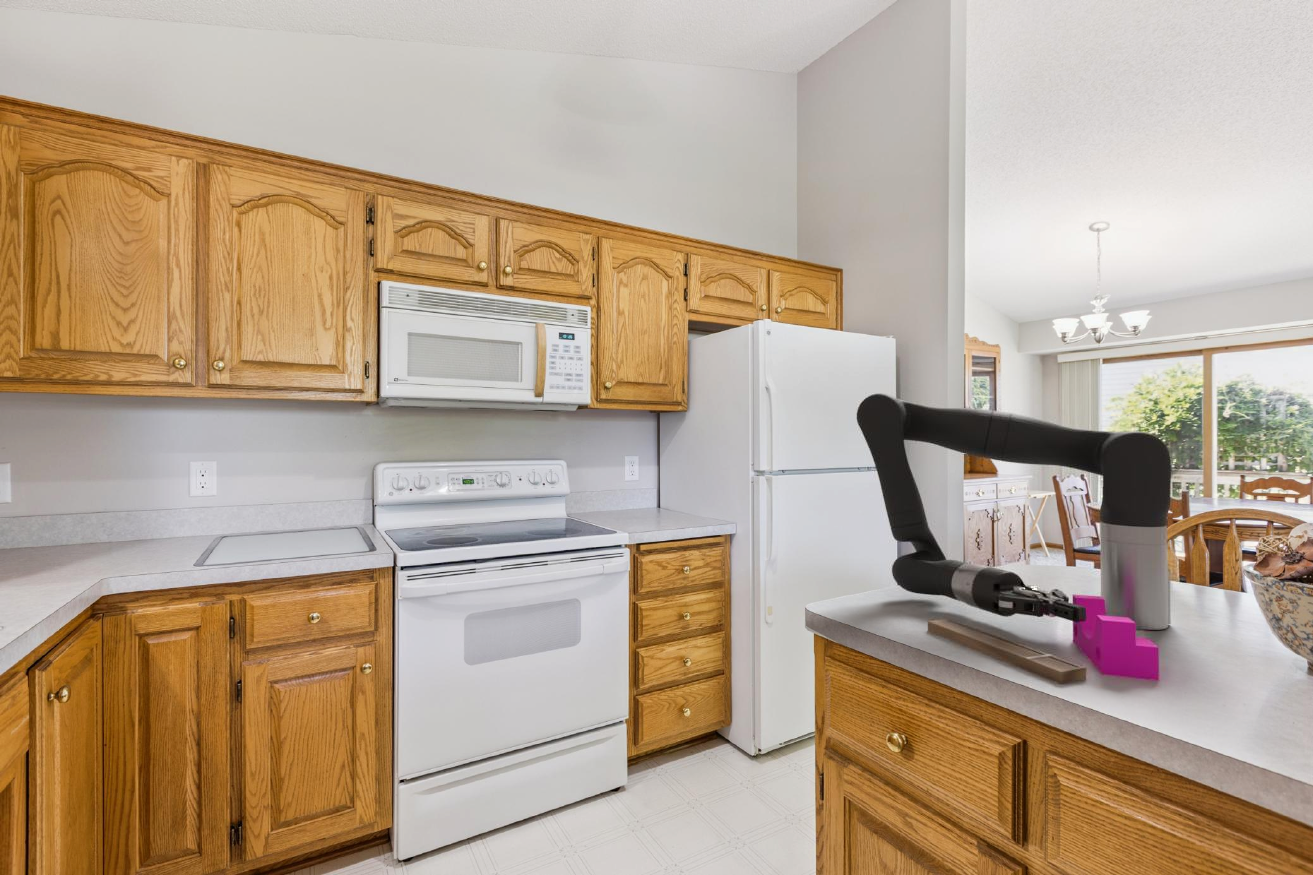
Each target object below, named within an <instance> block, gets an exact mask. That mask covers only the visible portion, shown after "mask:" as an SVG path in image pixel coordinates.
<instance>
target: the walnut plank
mask: <svg viewBox="0 0 1313 875" xmlns="http://www.w3.org/2000/svg"><path fill="white" fill-rule="evenodd" d="M927 631H928V632H930V633H933V634H935V635H938V636H940V637H941V638H942V637H943V638H944V639H947V640H950V641H953V642H955V643H957V644H960V645H963V646H965V647H968V648H970V649H973V650H975V651H977V652H979V653H982V654H985V655H987V656H990V657H991V658H995V659H998V660H1000V661H1002V662H1005V663H1008V664H1010V665H1013V666H1014V667H1018V668H1020V669H1022V670H1025V671H1027V672H1030V673H1032V674H1035V675H1038V676H1040V677H1042V678H1045V679H1047V680H1050V681H1052V682H1055V683H1057V684H1060V685H1063V684H1069V683H1075V682H1081V681H1087V667H1085V666H1083V665H1080V664H1078V663H1074V662H1071V661H1069V660H1066V659H1062V658H1060V657H1058V656H1055V655H1054V654H1051V653H1046V652H1043V651H1040V650H1038V649H1035V648H1032V647H1030V646H1026V645H1025V644H1021V643H1019V642H1016V641H1013V640H1010V639H1007V638H1005V637H1001V636H999V635H996V634H993V633H990V632H988V631H984V630H982V629H979V628H976V627H974V626H972V625H969V624H966V623H962V622H961V621H957V620H954V619H951V618H943V619H936V620H935V619H934V620H928V621H927Z"/></svg>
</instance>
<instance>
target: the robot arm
mask: <svg viewBox="0 0 1313 875" xmlns="http://www.w3.org/2000/svg"><path fill="white" fill-rule="evenodd" d="M856 410H857V412H856V422H857V425H858V427H859V429H860V431H861V433H862V435H863V437H864V440H865V443H866V445H867V446H868V449H869V451H870V455H871V457H872V460H873V462H874V465H875V469H876V471H877V476H878V479H879V483H880V484H879V485H880V489H881V492H882V498H883V502H884V506H885V511H886V514H887V518H888V523H889V528H890V530H891V533H892V537H893V538H894V540H895V541H897V542H901V543H909V542H910V543H911V544H912V546H913V547H914V550H915V551H914V552H910V553H906V554H904V555H901V556H899V557H898V558H896V559H895V560H894V562H893V563H892V566H891V574H892V578H893V580H894V581H895V583H896V584H897V585H898V586H899V587H901V589H903V590H905V591H908V592H910V593H912V594H913V593H914V594H919V595H929V596H942V597H946V598H950V599H953V600H956V601H958V602H961V603H964V604H966V605H968V606H971V607H973V608H976V609H979V610H982V611H986V612H988V613H992V614H995V615H998V616H1001V617H1005V618H1007V617H1012V616H1014V615H1023V616H1030V617H1031V616H1033V617H1037V618H1041V617H1042V618H1043V617H1044V616H1047V617H1049V618H1056V617H1058V618H1061V619H1064V620H1067V621H1072V622H1073V621H1074V622H1082V621H1085V620H1086V609H1085V607H1083V606H1080V605H1076V604H1073V602H1069V600H1070V598H1069V596H1068V595H1066V594H1065V593H1064V592H1063V591H1062V590H1060V589H1057V588H1054V589H1051V590H1050V591H1046V590H1044V589H1040V588H1038V587H1037V586H1036V585H1031V584H1025V583H1024V581H1023V579H1022V578H1021V577H1020V576H1019V575H1018V574H1017V573H1015V572H1012V571H1008V570H1004V569H1000V568H996V567H991V566H987V565H984V564H983V565H982V564H976V563H968V562H966V561H965V562H964V561H961V560H960V561H959V560H955V559H947V558H946V555H945V554H944V552H943V551H942V549H941V547H940V545H939V544H938V541H937V540H936V538H935V535H934V534H933V532H932V531H931V529H930V527H929V523H928V519H927V516H926V512H925V508H924V504H923V500H922V497H921V494H920V491H919V488H918V485H917V482H916V480H915V478H914V475H913V472H912V470H911V466H910V463H909V460H908V456H907V452H906V447H905V441H911V442H913V441H914V442H921V443H928V444H933V445H936V446H940V447H943V448H945V449H949V450H951V451H954V452H955V451H956V452H958V453H962V454H965V455H969V456H974V457H978V458H982V459H983V458H984V459H988V460H994V461H999V462H1000V461H1001V462H1006V463H1013V464H1025V465H1038V466H1039V465H1041V466H1042V465H1043V466H1057V467H1065V468H1071V469H1074V470H1077V471H1078V470H1079V471H1083V472H1086V473H1090V474H1095V475H1098V476H1101V477H1102V498H1101V505H1100V507H1099V508H1100V510H1099V524H1100V525H1099V528H1100V530H1099V532H1100V533H1099V534H1100V538H1099V539H1100V540H1099V541H1100V542H1099V543H1100V548H1099V549H1100V596H1101V597H1102V598H1103V599H1105V608H1106V615H1107V616H1115V617H1127V618H1130V619H1131V620H1132V621H1134V622H1135V623H1136V629H1138V630H1149V631H1150V630H1152V631H1153V630H1164V629H1165V630H1166V629H1167V628H1168V627H1169V625H1171V621H1172V620H1171V617H1172V616H1171V570H1170V568H1168V514H1169V510H1170V506H1171V489H1172V488H1171V484H1172V483H1171V482H1172V464H1171V463H1172V462H1171V453H1170V451H1169V448H1168V447H1167V445H1166V444H1165V442H1164V441H1163V440H1162V439H1161V438H1159V437H1158V436H1156V435H1154V434H1152V433H1149V432H1146V431H1145V432H1144V431H1140V430H1139V431H1138V430H1130V431H1127V430H1126V431H1108V430H1096V429H1094V430H1092V429H1083V428H1082V429H1081V428H1073V427H1069V426H1064V425H1061V424H1057V423H1053V422H1050V421H1046V420H1043V419H1040V418H1035V417H1031V416H1027V415H1024V414H1023V415H1022V414H1017V413H1011V412H1005V411H999V410H992V409H982V408H980V409H979V408H964V407H963V408H962V407H960V408H959V407H956V408H955V407H952V408H951V407H949V408H948V407H934V406H928V405H923V404H919V403H915V402H912V401H911V402H910V401H907V400H903V399H900V398H897V397H894V396H892V395H889V394H887V393H875V394H871V395H868V396H866V397H865V398H864V399H863V400H862V401H861V403H860V404H859V406H858V408H857V409H856Z"/></svg>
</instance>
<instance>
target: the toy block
mask: <svg viewBox="0 0 1313 875" xmlns="http://www.w3.org/2000/svg"><path fill="white" fill-rule="evenodd" d="M1072 604H1076V605H1080V606H1083V607H1085V609H1086V620H1085V621H1082V622H1074V621H1072V642H1073V643H1074V644H1075V645H1076V647H1078V649H1079V650H1080V651H1081V652H1082V653H1083V654H1084V656H1086V658H1087V659H1089V661H1090V662H1091V663H1092V664H1093V665H1094V667H1095V668H1096V669H1097V670H1098V671H1099V672H1100V674H1101V675H1103V676H1113V677H1114V676H1115V677H1121V678H1122V677H1123V678H1130V679H1141V680H1151V681H1158V682H1159V681H1160V665H1159V664H1160V661H1159V660H1160V659H1159V658H1160V656H1159V655H1160V653H1159V652H1160V650H1159V648H1160V647H1159V646H1157V645H1156V644H1155V643H1154V642H1152V641H1151V640H1150V639H1148V638H1146V637H1137V633H1136V632H1137V631H1136V629H1137V628H1136V623H1135V622H1134V621H1132V620H1131V619H1130V618H1127V617H1115V616H1107V615H1106V608H1105V599H1103V598H1102V597H1101V595H1100V596H1099V595H1085V594H1072Z"/></svg>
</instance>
